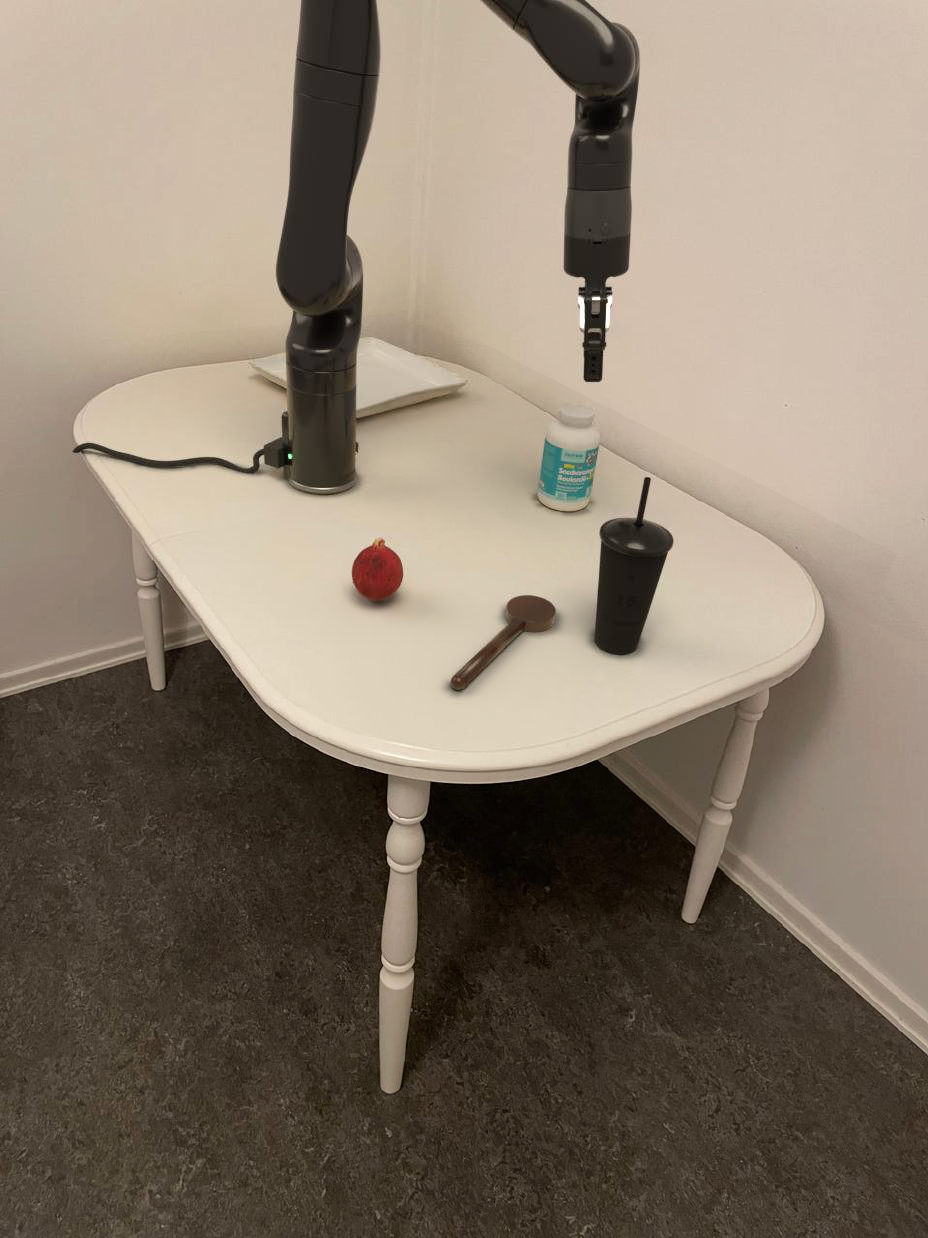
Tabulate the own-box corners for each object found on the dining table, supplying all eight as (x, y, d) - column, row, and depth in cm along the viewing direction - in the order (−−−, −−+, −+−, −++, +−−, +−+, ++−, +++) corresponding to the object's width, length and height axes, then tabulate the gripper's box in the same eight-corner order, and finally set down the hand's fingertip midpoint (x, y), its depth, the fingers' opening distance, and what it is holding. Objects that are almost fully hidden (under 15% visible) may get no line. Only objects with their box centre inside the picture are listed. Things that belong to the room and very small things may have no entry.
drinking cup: (575, 622, 110) (602, 461, 98) (640, 623, 110) (674, 463, 99) (588, 662, 103) (618, 494, 92) (657, 663, 104) (695, 496, 93)
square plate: (246, 380, 165) (245, 358, 163) (371, 353, 181) (372, 333, 179) (341, 433, 149) (341, 409, 147) (469, 399, 166) (471, 377, 163)
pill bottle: (554, 517, 131) (567, 423, 124) (526, 494, 136) (538, 403, 129) (599, 508, 134) (615, 417, 127) (571, 486, 139) (584, 397, 132)
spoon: (430, 682, 98) (431, 669, 97) (519, 599, 113) (521, 588, 112) (477, 702, 96) (479, 689, 95) (562, 615, 111) (564, 604, 110)
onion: (394, 618, 108) (397, 556, 103) (344, 609, 108) (345, 547, 104) (407, 591, 112) (410, 531, 108) (359, 583, 113) (360, 523, 109)
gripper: (565, 218, 115) (562, 352, 124) (563, 242, 103) (560, 389, 112) (628, 217, 115) (621, 352, 123) (633, 241, 103) (625, 389, 111)
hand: (592, 369), depth 118 cm, fingers open, 8 cm apart
